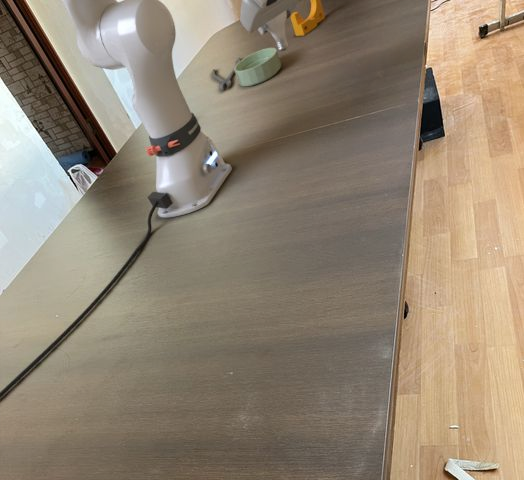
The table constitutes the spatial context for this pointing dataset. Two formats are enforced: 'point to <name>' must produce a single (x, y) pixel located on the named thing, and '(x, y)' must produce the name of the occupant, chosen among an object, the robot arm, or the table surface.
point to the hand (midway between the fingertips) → (274, 23)
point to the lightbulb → (279, 30)
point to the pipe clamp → (308, 19)
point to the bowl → (258, 67)
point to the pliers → (227, 80)
